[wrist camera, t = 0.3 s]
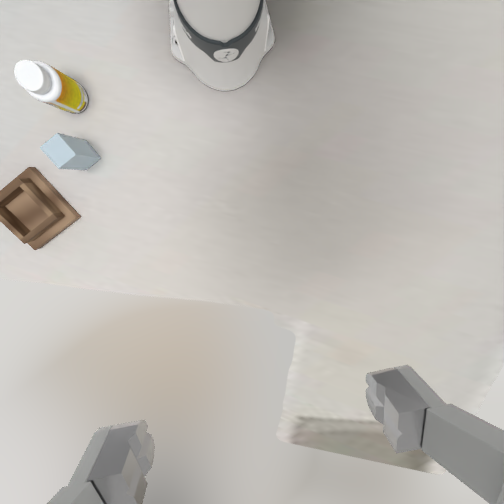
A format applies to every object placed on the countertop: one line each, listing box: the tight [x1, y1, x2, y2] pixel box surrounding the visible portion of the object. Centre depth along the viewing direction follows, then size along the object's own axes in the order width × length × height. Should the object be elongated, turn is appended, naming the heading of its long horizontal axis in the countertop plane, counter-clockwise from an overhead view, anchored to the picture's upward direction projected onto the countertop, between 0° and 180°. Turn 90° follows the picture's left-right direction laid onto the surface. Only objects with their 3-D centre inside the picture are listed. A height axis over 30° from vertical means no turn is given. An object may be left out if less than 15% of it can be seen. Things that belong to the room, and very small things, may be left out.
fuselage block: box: [40, 133, 101, 170], centre depth 44 cm, size 4×4×8 cm
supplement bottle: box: [14, 60, 88, 113], centre depth 40 cm, size 6×6×10 cm
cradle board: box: [0, 167, 81, 250], centre depth 48 cm, size 12×12×4 cm
